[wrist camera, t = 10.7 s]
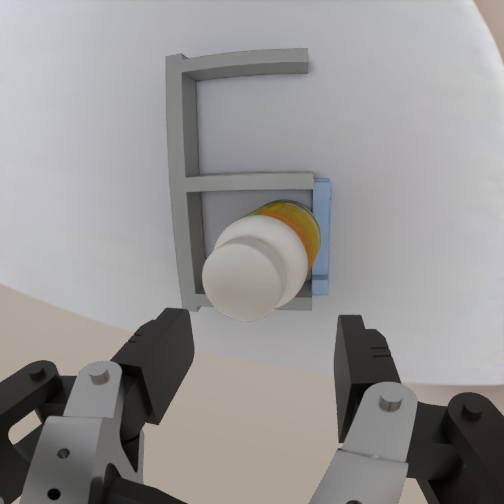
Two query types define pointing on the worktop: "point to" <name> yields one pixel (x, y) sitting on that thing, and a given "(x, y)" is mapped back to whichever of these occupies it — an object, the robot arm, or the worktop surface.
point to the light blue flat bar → (321, 213)
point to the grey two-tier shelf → (191, 183)
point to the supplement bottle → (262, 260)
